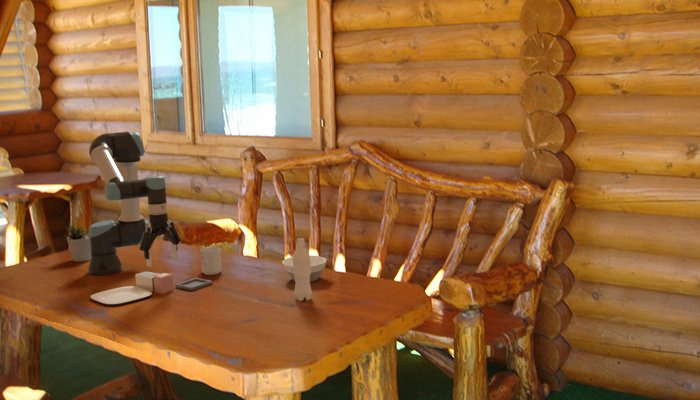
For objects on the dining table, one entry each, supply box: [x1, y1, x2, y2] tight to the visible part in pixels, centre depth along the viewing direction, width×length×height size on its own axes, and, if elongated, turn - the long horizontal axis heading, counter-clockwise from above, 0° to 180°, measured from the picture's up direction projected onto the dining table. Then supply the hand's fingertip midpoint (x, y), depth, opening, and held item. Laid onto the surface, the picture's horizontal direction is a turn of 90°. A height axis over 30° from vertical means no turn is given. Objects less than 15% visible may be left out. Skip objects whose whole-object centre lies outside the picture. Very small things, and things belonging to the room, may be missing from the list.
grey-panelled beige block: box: [135, 271, 160, 293], centre depth 353 cm, size 11×6×6 cm, turn 53°
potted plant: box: [64, 222, 91, 263], centre depth 407 cm, size 13×14×20 cm
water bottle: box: [292, 237, 313, 302], centre depth 327 cm, size 7×7×25 cm
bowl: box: [281, 255, 328, 283], centre depth 359 cm, size 20×20×8 cm
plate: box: [90, 285, 153, 306], centre depth 341 cm, size 22×22×2 cm
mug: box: [199, 246, 222, 276], centre depth 376 cm, size 12×9×11 cm
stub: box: [153, 272, 174, 295], centre depth 348 cm, size 5×6×7 cm
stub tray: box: [175, 277, 213, 292], centre depth 354 cm, size 10×12×2 cm
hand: (162, 262), depth 346 cm, fingers open, 13 cm apart
